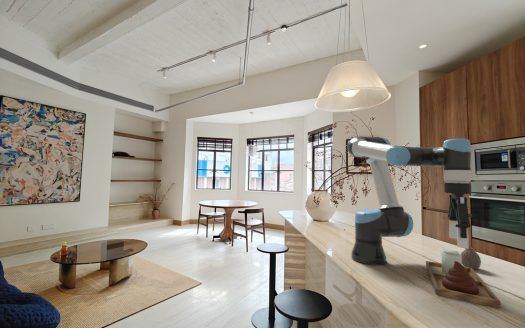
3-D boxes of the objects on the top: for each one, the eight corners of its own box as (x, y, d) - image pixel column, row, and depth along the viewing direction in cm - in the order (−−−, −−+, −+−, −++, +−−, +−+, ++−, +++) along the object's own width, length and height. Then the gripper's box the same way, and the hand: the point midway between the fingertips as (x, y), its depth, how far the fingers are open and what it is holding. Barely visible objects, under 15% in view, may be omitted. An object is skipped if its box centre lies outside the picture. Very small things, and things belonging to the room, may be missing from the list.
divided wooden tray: (435, 294, 79) (435, 288, 79) (425, 265, 106) (425, 260, 106) (500, 308, 71) (500, 301, 71) (471, 272, 98) (471, 268, 98)
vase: (485, 271, 100) (484, 250, 100) (466, 270, 101) (465, 249, 102) (474, 265, 107) (473, 246, 107) (456, 264, 108) (456, 245, 108)
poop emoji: (441, 289, 81) (440, 261, 82) (442, 281, 88) (441, 255, 89) (480, 298, 75) (479, 268, 76) (478, 289, 82) (477, 261, 82)
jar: (443, 274, 94) (442, 251, 94) (440, 269, 99) (440, 247, 100) (463, 278, 91) (463, 254, 91) (460, 272, 96) (459, 250, 97)
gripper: (482, 183, 71) (483, 254, 70) (462, 182, 93) (463, 236, 92) (450, 182, 75) (451, 250, 74) (438, 181, 97) (439, 233, 96)
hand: (458, 242), depth 83 cm, fingers open, 13 cm apart
